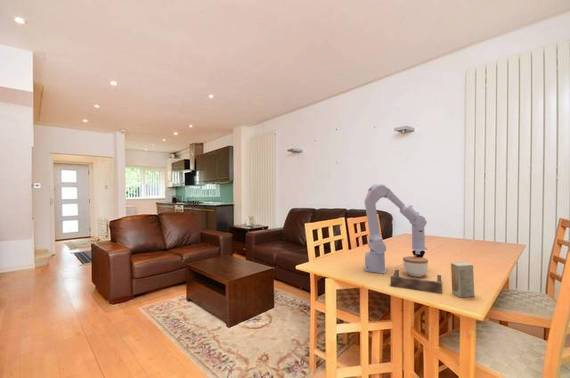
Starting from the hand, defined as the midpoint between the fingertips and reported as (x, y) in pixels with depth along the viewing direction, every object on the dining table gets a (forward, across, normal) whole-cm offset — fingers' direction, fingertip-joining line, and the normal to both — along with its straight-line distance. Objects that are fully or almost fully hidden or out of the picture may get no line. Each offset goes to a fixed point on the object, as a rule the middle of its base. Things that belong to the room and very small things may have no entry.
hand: (418, 265), depth 134 cm
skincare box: (+3, -27, -16) cm, 32 cm away
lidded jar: (+2, -10, +1) cm, 10 cm away
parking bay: (+2, -21, 0) cm, 21 cm away
